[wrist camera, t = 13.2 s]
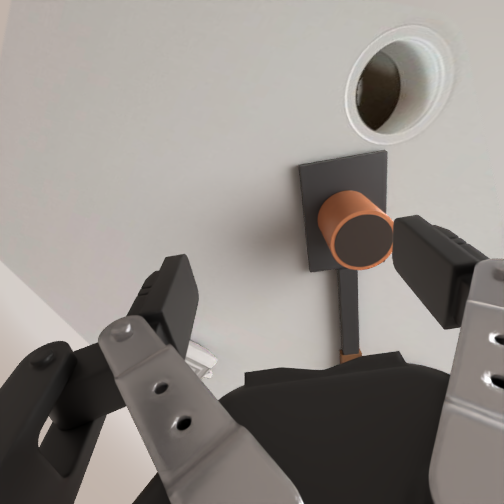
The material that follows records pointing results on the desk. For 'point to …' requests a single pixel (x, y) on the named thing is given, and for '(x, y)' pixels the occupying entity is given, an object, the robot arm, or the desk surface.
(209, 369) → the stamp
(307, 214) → the spatula
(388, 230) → the copper pot
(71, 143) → the desk surface
